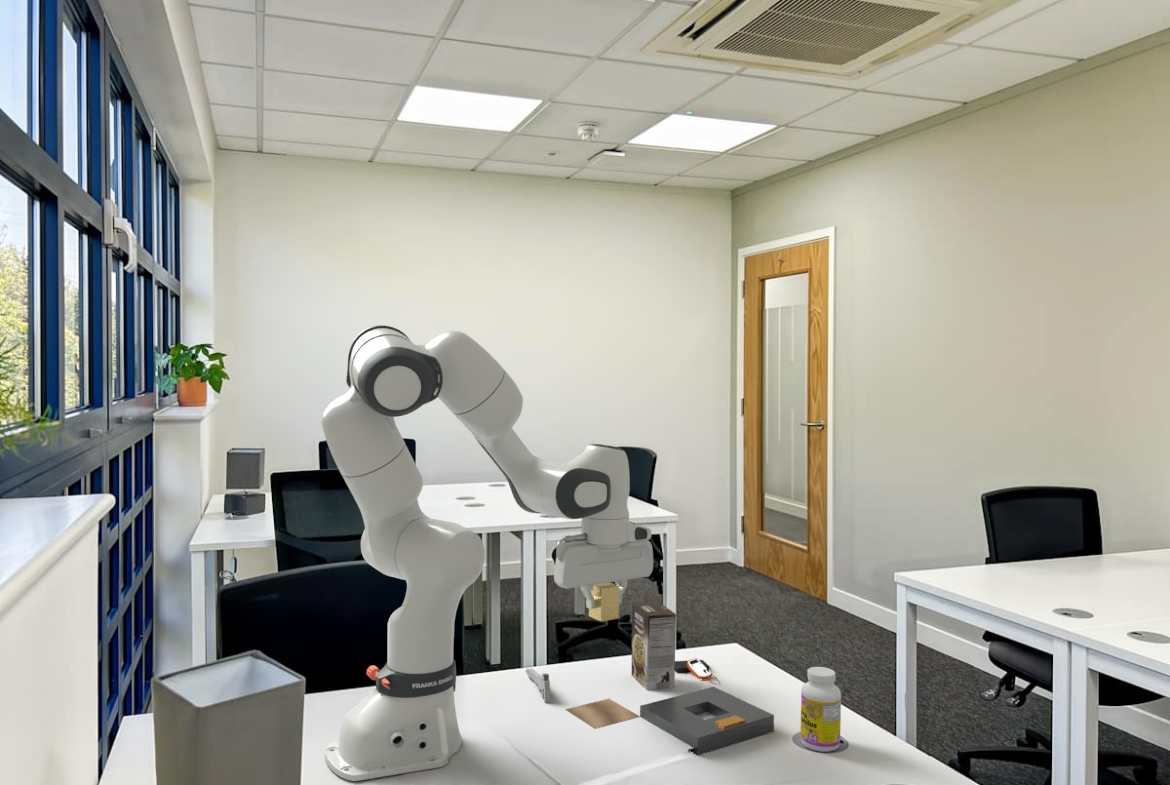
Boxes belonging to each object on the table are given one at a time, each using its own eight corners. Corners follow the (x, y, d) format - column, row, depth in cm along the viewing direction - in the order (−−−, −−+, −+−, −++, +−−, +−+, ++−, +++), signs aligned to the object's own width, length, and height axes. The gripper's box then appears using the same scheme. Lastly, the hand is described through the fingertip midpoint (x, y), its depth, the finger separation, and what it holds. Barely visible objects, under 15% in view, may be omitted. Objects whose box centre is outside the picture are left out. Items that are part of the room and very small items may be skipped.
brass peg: (600, 621, 149) (601, 588, 149) (588, 616, 153) (589, 583, 152) (618, 618, 151) (619, 585, 151) (606, 612, 155) (606, 581, 155)
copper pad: (594, 734, 145) (594, 728, 145) (565, 714, 154) (565, 709, 154) (639, 721, 151) (640, 716, 151) (608, 703, 159) (608, 698, 159)
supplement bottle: (793, 738, 145) (794, 666, 144) (826, 734, 146) (828, 663, 146) (812, 755, 138) (814, 679, 138) (847, 751, 140) (849, 676, 140)
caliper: (550, 709, 157) (550, 676, 157) (544, 709, 157) (545, 677, 157) (530, 672, 177) (530, 642, 177) (525, 672, 176) (525, 643, 176)
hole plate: (697, 755, 137) (697, 736, 137) (639, 721, 151) (640, 704, 151) (773, 731, 147) (774, 713, 147) (713, 701, 161) (713, 685, 161)
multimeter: (748, 696, 165) (749, 679, 165) (690, 698, 163) (690, 681, 163) (723, 666, 183) (723, 651, 183) (670, 667, 181) (670, 652, 181)
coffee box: (629, 679, 172) (630, 603, 172) (658, 676, 174) (659, 601, 174) (646, 695, 163) (647, 615, 163) (675, 692, 165) (676, 612, 165)
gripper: (566, 539, 143) (565, 618, 144) (658, 529, 155) (657, 602, 155) (548, 533, 149) (547, 609, 149) (638, 524, 160) (637, 595, 160)
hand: (604, 605), depth 152 cm, fingers closed on brass peg, 4 cm apart
